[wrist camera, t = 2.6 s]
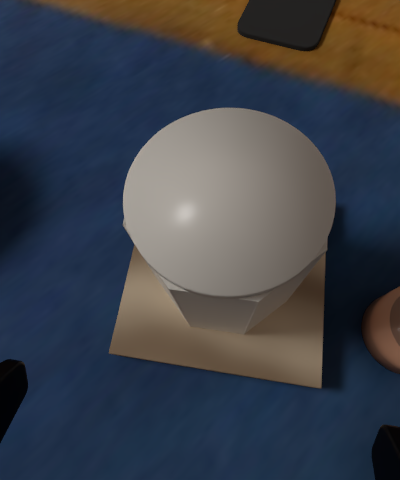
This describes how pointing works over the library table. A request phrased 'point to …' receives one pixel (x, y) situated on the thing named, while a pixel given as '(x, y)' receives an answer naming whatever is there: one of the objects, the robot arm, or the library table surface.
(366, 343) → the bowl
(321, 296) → the cork pad
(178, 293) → the white faceted jar
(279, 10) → the phone
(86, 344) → the library table surface
